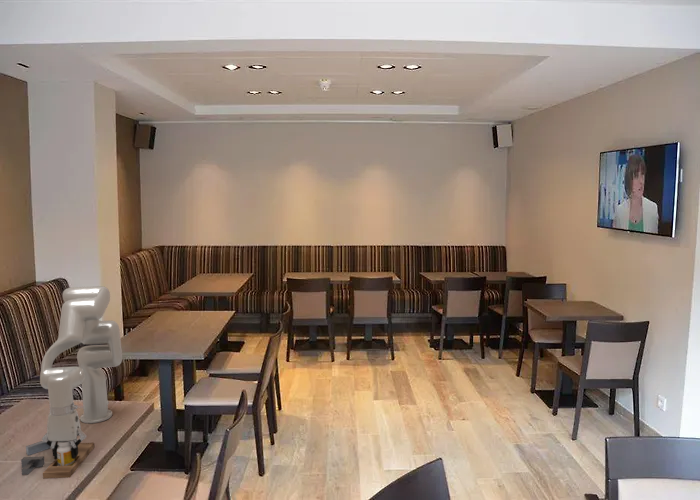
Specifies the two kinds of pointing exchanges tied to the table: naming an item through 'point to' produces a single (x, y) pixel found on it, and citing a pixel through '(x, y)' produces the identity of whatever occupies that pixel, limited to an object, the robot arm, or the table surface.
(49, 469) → the block with square hole
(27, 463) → the gray tee-shaped block
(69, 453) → the supplement bottle
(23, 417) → the table surface
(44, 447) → the vee block
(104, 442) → the table surface
